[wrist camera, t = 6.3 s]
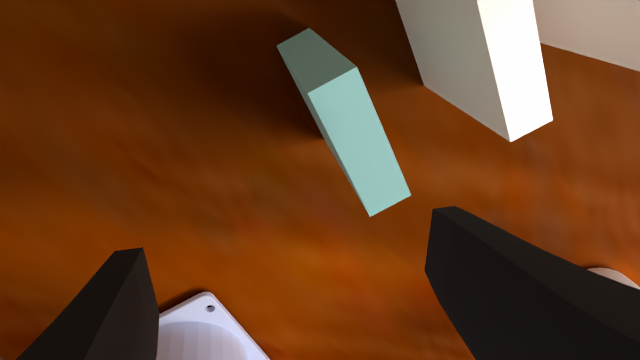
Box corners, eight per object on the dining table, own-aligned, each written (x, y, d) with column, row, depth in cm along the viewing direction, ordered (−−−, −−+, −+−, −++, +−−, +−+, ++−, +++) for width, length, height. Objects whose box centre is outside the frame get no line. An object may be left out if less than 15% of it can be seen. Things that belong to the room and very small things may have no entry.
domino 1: (453, 70, 21) (552, 120, 15) (424, 85, 21) (510, 141, 15) (423, -36, 18) (527, -27, 12) (389, -17, 18) (476, 0, 12)
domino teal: (353, 123, 21) (411, 195, 15) (324, 139, 21) (370, 216, 15) (309, 27, 18) (356, 66, 12) (276, 45, 18) (307, 93, 12)
